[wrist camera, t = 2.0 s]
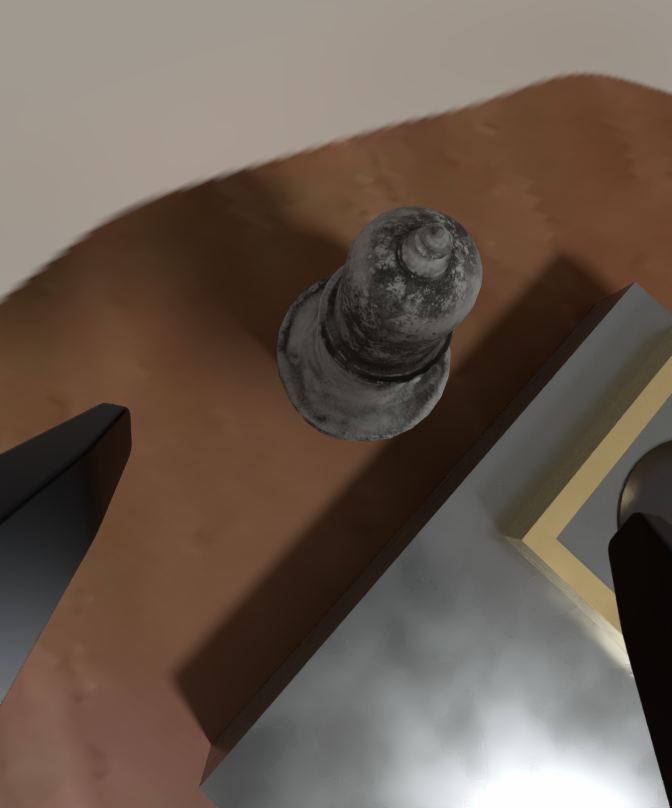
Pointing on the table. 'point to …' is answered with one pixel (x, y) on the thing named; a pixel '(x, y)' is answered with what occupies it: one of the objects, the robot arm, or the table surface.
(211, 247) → the table surface
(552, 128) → the table surface
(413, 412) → the grey tiered ornament
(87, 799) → the table surface
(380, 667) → the grey slab
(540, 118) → the table surface
